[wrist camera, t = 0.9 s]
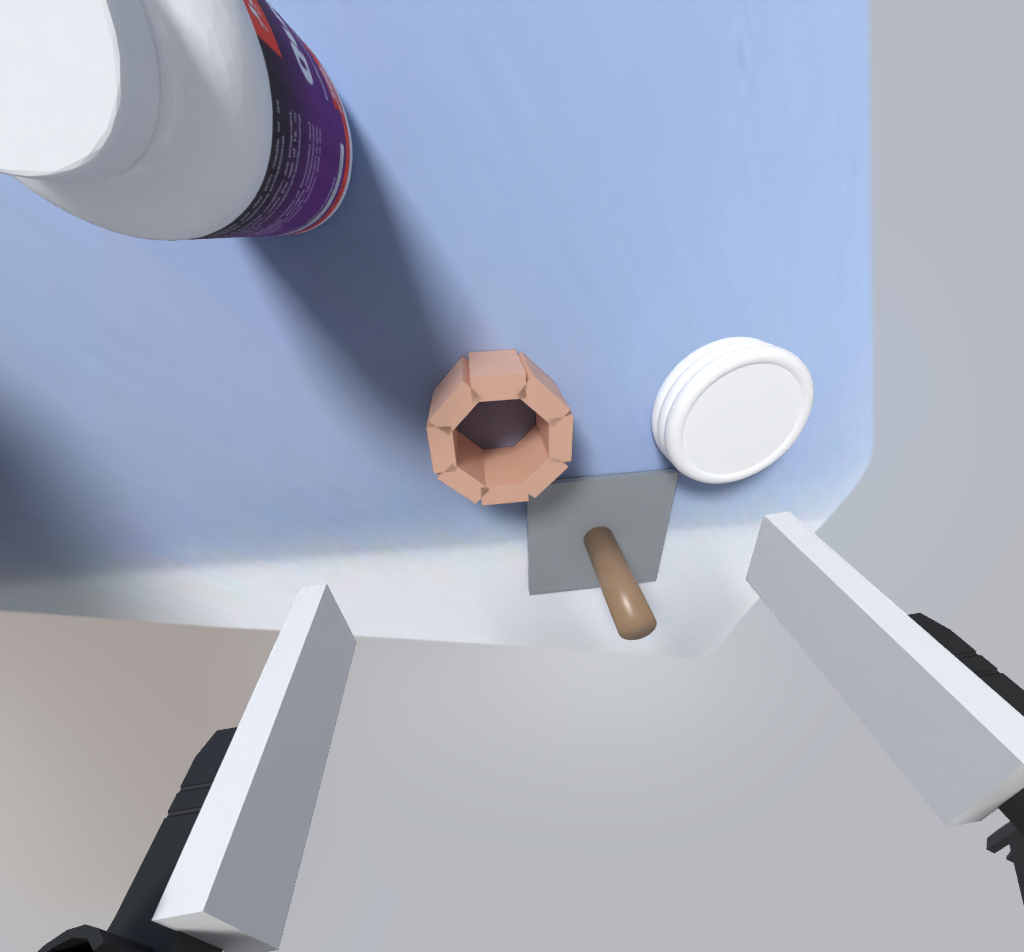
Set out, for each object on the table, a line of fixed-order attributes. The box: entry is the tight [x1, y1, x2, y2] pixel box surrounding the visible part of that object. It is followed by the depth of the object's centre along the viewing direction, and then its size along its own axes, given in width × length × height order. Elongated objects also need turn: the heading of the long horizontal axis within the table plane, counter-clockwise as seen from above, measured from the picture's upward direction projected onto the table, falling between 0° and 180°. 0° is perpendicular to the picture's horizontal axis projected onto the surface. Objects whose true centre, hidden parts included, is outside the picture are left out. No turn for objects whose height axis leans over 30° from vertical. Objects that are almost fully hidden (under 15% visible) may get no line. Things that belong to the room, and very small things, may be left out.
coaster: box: [651, 337, 814, 484], centre depth 28 cm, size 10×10×4 cm
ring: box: [426, 349, 573, 505], centre depth 26 cm, size 8×8×5 cm
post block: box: [527, 468, 679, 640], centre depth 31 cm, size 12×12×10 cm
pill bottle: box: [0, 0, 352, 241], centre depth 13 cm, size 8×8×14 cm
